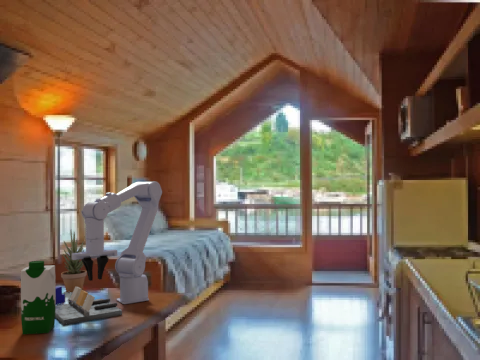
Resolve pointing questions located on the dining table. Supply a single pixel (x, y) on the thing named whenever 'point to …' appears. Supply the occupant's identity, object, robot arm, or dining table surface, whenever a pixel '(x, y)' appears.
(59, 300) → the cable clip
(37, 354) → the dining table surface
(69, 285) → the potted plant
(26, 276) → the milk carton
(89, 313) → the panel
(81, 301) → the orange paddle
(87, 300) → the ivory paddle
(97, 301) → the cords
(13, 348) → the dining table surface
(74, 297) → the ivory paddle
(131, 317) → the dining table surface
